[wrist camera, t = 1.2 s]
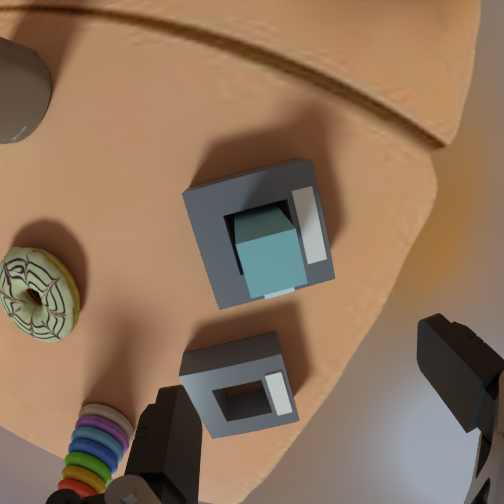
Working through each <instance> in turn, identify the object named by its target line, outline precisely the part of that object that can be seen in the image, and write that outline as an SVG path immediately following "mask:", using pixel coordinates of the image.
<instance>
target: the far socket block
mask: <svg viewBox="0 0 504 504" xmlns="http://www.w3.org/2000/svg"><path fill="white" fill-rule="evenodd" d="M179 378H180V380H181V382H182V384H183V386H184V387H185V389H186V391H187V393H188V395H189V397H190V399H191V401H192V403H193V405H194V407H195V408H196V410H197V412H198V414H199V416H200V418H201V420H202V421H203V423H204V425H205V427H206V428H207V430H208V432H209V434H210V435H211V437H212V439H213V438H219V437H225V436H231V435H237V434H243V433H248V432H253V431H258V430H263V429H267V428H272V427H276V426H280V425H285V424H289V423H293V422H297V421H299V417H298V413H297V409H296V405H295V401H294V397H293V393H292V389H291V385H290V382H289V378H288V374H287V371H286V367H285V363H284V360H283V356H282V352H281V348H280V345H279V341H278V337H277V334H276V331H275V332H271V333H267V334H264V335H260V336H256V337H252V338H248V339H244V340H239V341H235V342H231V343H227V344H222V345H218V346H214V347H209V348H205V349H200V350H195V351H191V352H186V353H183V357H182V362H181V367H180V372H179ZM258 380H262V383H263V386H264V390H260V391H255V392H251V393H246V394H242V395H237V396H232V397H226V395H225V393H224V390H223V388H226V387H231V386H236V385H240V384H245V383H249V382H254V381H258Z"/></svg>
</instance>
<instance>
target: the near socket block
mask: <svg viewBox="0 0 504 504" xmlns="http://www.w3.org/2000/svg"><path fill="white" fill-rule="evenodd" d="M182 195H183V199H184V202H185V205H186V209H187V212H188V215H189V218H190V222H191V225H192V228H193V231H194V234H195V238H196V241H197V244H198V247H199V250H200V253H201V256H202V259H203V262H204V265H205V268H206V272H207V275H208V278H209V281H210V284H211V286H212V289H213V292H214V295H215V298H216V301H217V304H218V307H219V310H221V309H225V308H229V307H233V306H237V305H241V304H244V303H248V302H252V301H256V300H260V299H264V298H265V296H264V295H263V296H259V297H256V298H252V299H251V296H250V292H249V289H248V286H247V282H246V279H245V275H244V272H243V268H242V265H241V262H240V259H239V257H238V253H237V250H236V246H235V243H234V239H233V236H232V233H231V229H230V226H229V222H228V219H227V215H228V214H232V213H235V212H239V211H243V210H246V209H250V208H254V207H258V206H261V205H265V204H269V203H273V202H277V201H281V200H282V204H283V208H284V213H285V216H286V217H287V219H288V220H289V221H290V222H291V223H292V225H293V226H294V227H295V228H296V232H297V237H298V241H299V246H300V250H301V255H302V259H303V264H304V269H305V273H306V278H307V284H304V285H300V286H296V287H294V290H297V289H301V288H304V287H308V286H311V285H315V284H318V283H322V282H325V281H329V280H332V279H335V274H334V268H333V263H332V257H331V252H330V246H329V241H328V236H327V230H326V225H325V220H324V215H323V211H322V206H321V201H320V196H319V192H318V187H317V183H316V178H315V174H314V169H313V165H312V161H311V159H304V158H298V159H294V160H290V161H286V162H281V163H277V164H273V165H269V166H265V167H261V168H257V169H253V170H250V171H246V172H242V173H238V174H235V175H231V176H227V177H224V178H220V179H217V180H213V181H209V182H206V183H203V184H199V185H196V186H192V187H189V188H188V189H187V190H185V191H184V192H183V193H182Z"/></svg>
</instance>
